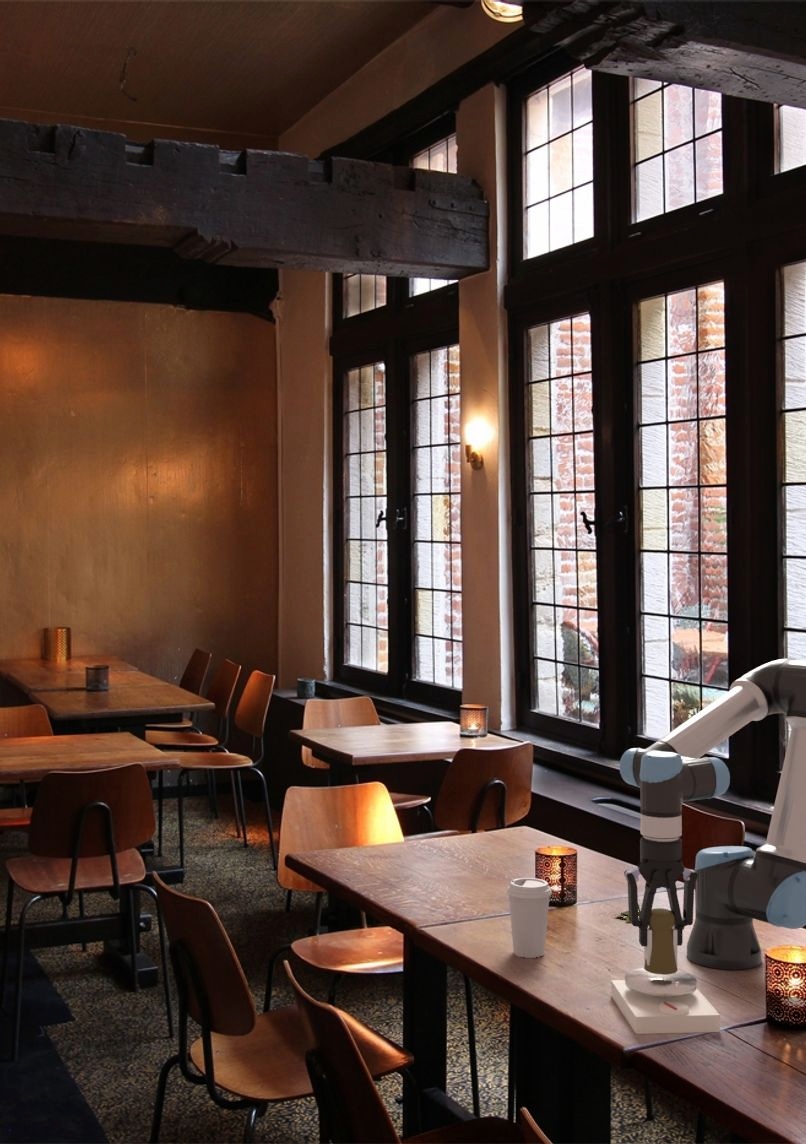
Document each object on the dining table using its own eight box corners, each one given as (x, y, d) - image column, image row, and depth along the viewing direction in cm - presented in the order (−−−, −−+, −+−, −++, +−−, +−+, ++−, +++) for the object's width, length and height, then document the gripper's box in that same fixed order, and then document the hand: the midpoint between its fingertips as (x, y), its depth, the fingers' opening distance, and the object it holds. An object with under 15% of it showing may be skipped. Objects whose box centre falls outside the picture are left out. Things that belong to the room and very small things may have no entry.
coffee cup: (522, 943, 269) (522, 874, 269) (560, 952, 263) (560, 881, 263) (497, 954, 261) (497, 883, 261) (535, 963, 255) (535, 891, 255)
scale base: (688, 994, 237) (688, 973, 237) (719, 1032, 218) (719, 1009, 218) (611, 996, 236) (611, 975, 236) (635, 1033, 217) (635, 1011, 217)
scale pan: (685, 972, 236) (685, 966, 236) (705, 996, 223) (705, 990, 223) (617, 974, 235) (617, 967, 235) (634, 998, 222) (634, 991, 222)
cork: (677, 975, 226) (677, 915, 226) (644, 973, 227) (644, 913, 227) (677, 964, 232) (677, 906, 232) (644, 962, 233) (644, 904, 233)
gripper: (700, 831, 233) (700, 955, 234) (610, 832, 232) (610, 957, 232) (712, 840, 226) (712, 968, 226) (620, 842, 225) (619, 970, 225)
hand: (660, 962), depth 229 cm, fingers closed on cork, 4 cm apart
